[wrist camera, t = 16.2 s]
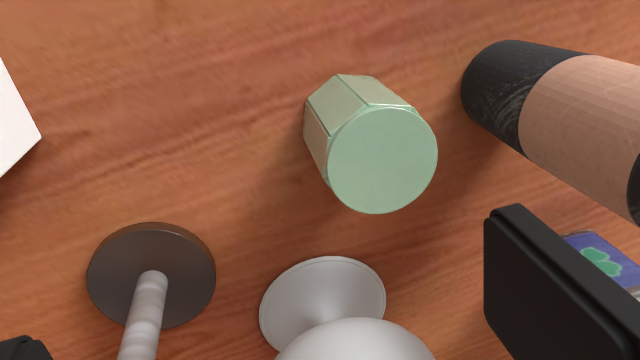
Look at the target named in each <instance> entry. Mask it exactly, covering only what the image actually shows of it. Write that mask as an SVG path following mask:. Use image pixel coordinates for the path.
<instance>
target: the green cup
mask: <svg viewBox="0 0 640 360" xmlns="http://www.w3.org/2000/svg"><path fill="white" fill-rule="evenodd" d="M307 100H308V101H306V102H305V112H304V123H303V133H302V135H303V138H304V140H305V142H306V144H307V146H308V148H309V151H310V153H311V155H312V157H313V159H314V161H315V163H316V165H317V167H318V170H319V172H320V174H321V176H322V178H323V180H324V182H325V183H326V184H327V185H328V186H329V187H330V188H331V189H332V191H333V192H334V194H335V195H336V196H337V198H338V199H339V200H340V201H341V202H342V203H343V204H345V205H346V206H347V207H348V208H351V209H352V210H355V211H358V212H361V213H366V214H384V213H389V212H393V211H396V210H398V209H401V208H403V207H404V206H406V205H408V204H409V203H411V202H412V201H414V200H415V199H416V198H417V197H418V196H419V195H420V194H421V193H422V192H423V191H424V190H425V188H426V187H427V186H428V184H429V183H430V181H431V179H432V177H433V175H434V172H435V169H436V165H437V159H438V149H437V141H436V137H435V136H434V134H433V131H432V130H431V128H430V127H429V125H428V124H427V123H426V122H425V121H424V120H423V119H422V118H421V116H420V115H419V114H418V112H417V111H416V110H415V108H414V107H413V106H411V105H410V104H408V103H407V102H406V101H404V100H403V99H402V98H400V97H399V96H398V95H396V94H395V93H394V92H392V91H391V90H390V89H388V88H387V87H386V86H384V85H383V84H382V83H380V82H379V81H378V80H376V79H375V78H373V77H371V76H359V75H345V74H337V77H336V76H335V75H334V76H333V77H331V78H330V79H329V80H328V81H327V82H326V83H324V84H323V85H322V86H321V87H320V88H319V89H317V90H316V91H315V92H314V93H313V94H312V95H310V96H309V97H308V98H307Z"/></svg>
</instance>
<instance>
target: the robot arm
mask: <svg viewBox="0 0 640 360" xmlns="http://www.w3.org/2000/svg"><path fill="white" fill-rule="evenodd" d="M484 314H485V317H486V320H487V322H488V324H489V326H490V327H491V329H492V330H493V331H494V333H495V334H496V335H497V337H498V338H499V339H500V341H501V342H502V343H503V345H504V346H505V348H506V349H507V350H508V352H509V353H510V354H511V356H512V357H513V358H514V360H640V302H639V301H638V300H637V299H636V298H634V297H633V296H632V295H631V294H630V293H628V292H627V291H626V290H625V289H624V288H622V287H621V286H620V285H619V284H618V283H616V282H615V281H614V280H613V279H611V278H610V277H609V276H608V275H607V274H605V273H604V272H603V271H602V270H601V269H599V268H598V267H597V266H596V265H594V264H593V263H592V262H591V261H590V260H588V259H587V258H586V257H584V256H583V255H582V254H581V253H580V252H578V251H577V250H576V249H575V248H574V247H572V246H571V245H570V244H569V243H568V242H566V241H565V240H564V239H563V238H561V237H560V236H559V235H558V234H557V233H555V232H554V231H553V230H552V229H551V228H549V227H548V226H547V225H546V224H545V223H543V222H542V221H541V220H540V219H538V218H537V217H536V216H535V215H534V214H532V213H531V212H530V211H529V210H528V209H526V208H525V207H524V206H523V205H521V204H518V203H516V204H512V205H508V206H505V207H501V208H497V209H494V210H492V211H491V213H490V217H489V218H486V219H485V220H484ZM0 360H53V358H52V357H51V355H50V353H49V352H48V350H47V349H46V347H45V345H44V344H43V343H42V342H41V341H40V340H33V339H32V338H31V337H29V336H27V335H23V336H19V337H16V338H12V339H8V340H4V341H1V342H0Z"/></svg>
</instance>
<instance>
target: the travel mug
mask: <svg viewBox="0 0 640 360" xmlns="http://www.w3.org/2000/svg"><path fill="white" fill-rule="evenodd" d="M461 99H462V103H463V106H464V108H465V110H466V112H467V114H468V115H469V116H470V117H471V118H472V119H473V120H474V121H475V122H476V123H478V124H479V125H480V126H482V127H483V128H484V129H486V130H487V131H489V132H490V133H492V134H493V135H494V136H496V137H497V138H499V139H500V140H502V141H503V142H504V143H506V144H507V145H509V146H510V147H512V148H513V149H514V150H516V151H517V152H519V153H520V154H522V155H523V156H524V157H526V158H527V159H529V160H530V161H532V162H533V163H535V164H536V165H538V166H539V167H541V168H543V169H544V170H546V171H548V172H549V173H551V174H552V175H554V176H556V177H557V178H559V179H561V180H562V181H564V182H565V183H567V184H569V185H570V186H572V187H574V188H575V189H577V190H578V191H580V192H582V193H583V194H585V195H587V196H588V197H590V198H592V199H593V200H595V201H596V202H598V203H600V204H601V205H603V206H605V207H606V208H608V209H609V210H611V211H613V212H614V213H616V214H618V215H619V216H621V217H622V218H624V219H626V220H627V221H629V222H631V223H632V224H634V225H635V226H637V227H639V228H640V66H636V65H632V64H629V63H625V62H621V61H617V60H613V59H609V58H605V57H601V56H596V55H592V54H586V53H581V52H576V51H571V50H566V49H561V48H555V47H550V46H545V45H540V44H535V43H530V42H524V41H518V40H505V41H500V42H497V43H494V44H492V45H490V46H488V47H486V48H485V49H484V50H482V51H481V52H480V53H479V54H478V55H477V56H476V57H475V58H474V59H473V60H472V62H471V63H470V65H469V66H468V68H467V70H466V72H465V75H464V77H463V81H462V86H461Z"/></svg>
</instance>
